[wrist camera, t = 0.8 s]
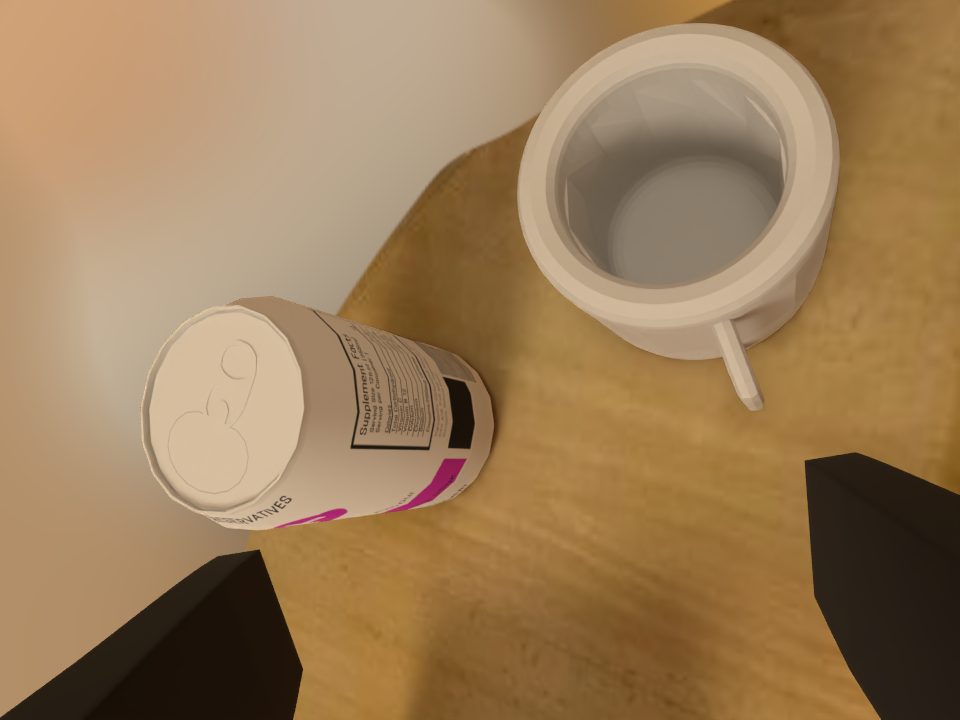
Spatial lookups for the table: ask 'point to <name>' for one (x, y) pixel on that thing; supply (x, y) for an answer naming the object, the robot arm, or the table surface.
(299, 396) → the supplement can
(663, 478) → the table surface
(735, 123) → the mug
